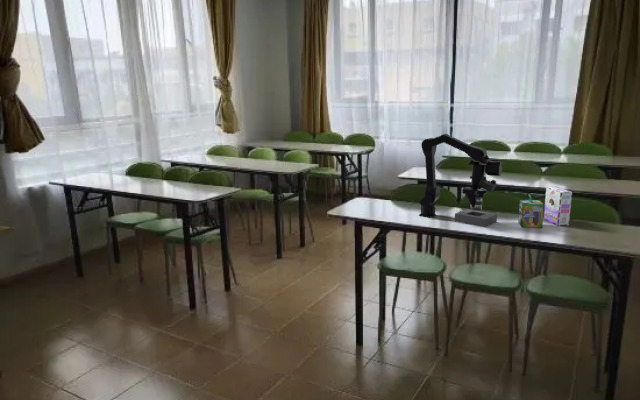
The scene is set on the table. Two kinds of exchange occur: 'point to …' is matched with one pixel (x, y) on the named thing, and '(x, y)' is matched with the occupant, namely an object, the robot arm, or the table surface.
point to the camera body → (476, 218)
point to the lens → (477, 204)
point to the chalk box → (530, 213)
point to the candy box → (557, 206)
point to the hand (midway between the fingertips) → (476, 205)
